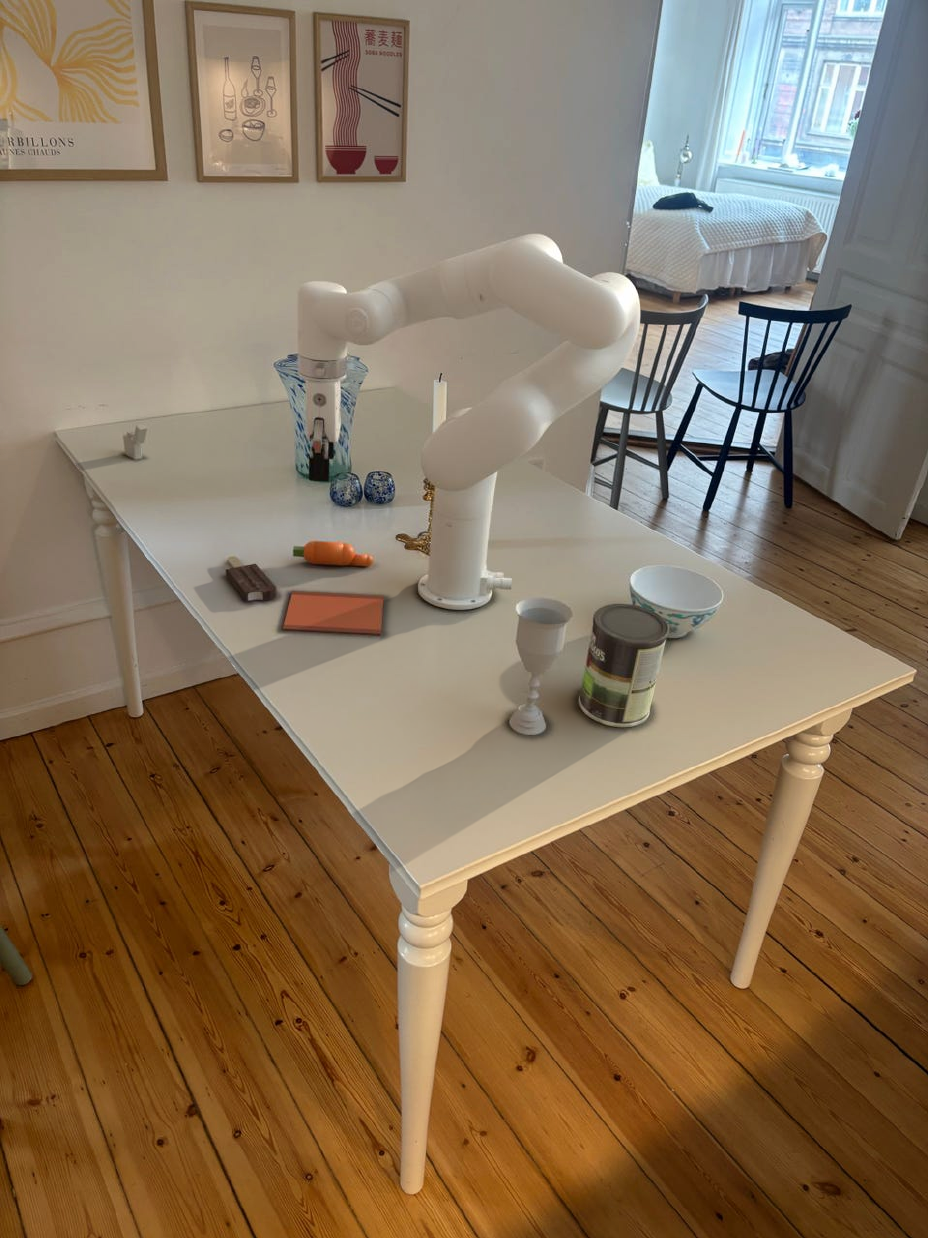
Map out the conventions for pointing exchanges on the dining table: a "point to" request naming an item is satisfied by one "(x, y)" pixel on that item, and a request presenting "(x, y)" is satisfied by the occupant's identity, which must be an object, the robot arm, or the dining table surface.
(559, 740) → the dining table surface
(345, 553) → the carrot
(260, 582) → the ice cream bar
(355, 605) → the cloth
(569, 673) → the dining table surface
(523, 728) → the chalice
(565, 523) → the dining table surface
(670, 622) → the chinaware
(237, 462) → the dining table surface
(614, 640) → the coffee can
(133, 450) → the white jagged block
